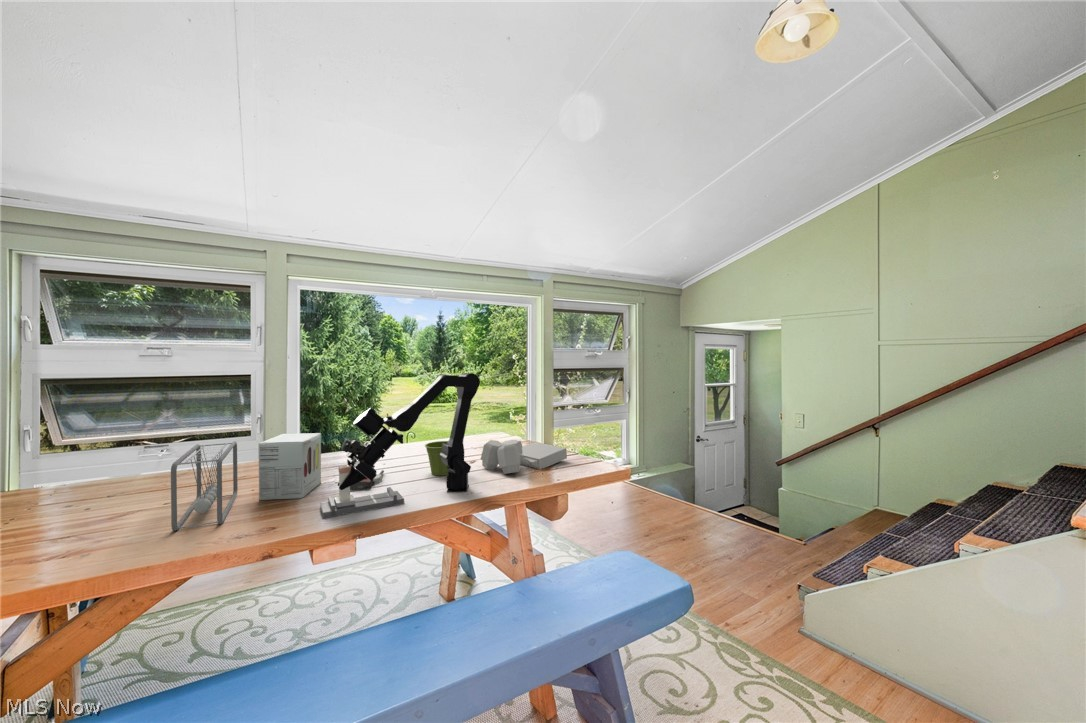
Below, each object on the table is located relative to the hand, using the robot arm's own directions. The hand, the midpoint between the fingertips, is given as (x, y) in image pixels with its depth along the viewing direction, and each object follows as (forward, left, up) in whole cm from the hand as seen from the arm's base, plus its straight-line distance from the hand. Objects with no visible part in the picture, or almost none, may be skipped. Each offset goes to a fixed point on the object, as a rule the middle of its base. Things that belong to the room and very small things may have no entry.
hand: (339, 487), depth 125 cm
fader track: (-6, -3, -7) cm, 9 cm away
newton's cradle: (+37, 0, -7) cm, 38 cm away
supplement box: (+23, -18, -7) cm, 30 cm away
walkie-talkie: (+2, -28, -7) cm, 29 cm away
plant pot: (-22, -38, -7) cm, 44 cm away
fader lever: (-1, -1, -5) cm, 5 cm away
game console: (-53, -49, -7) cm, 73 cm away
